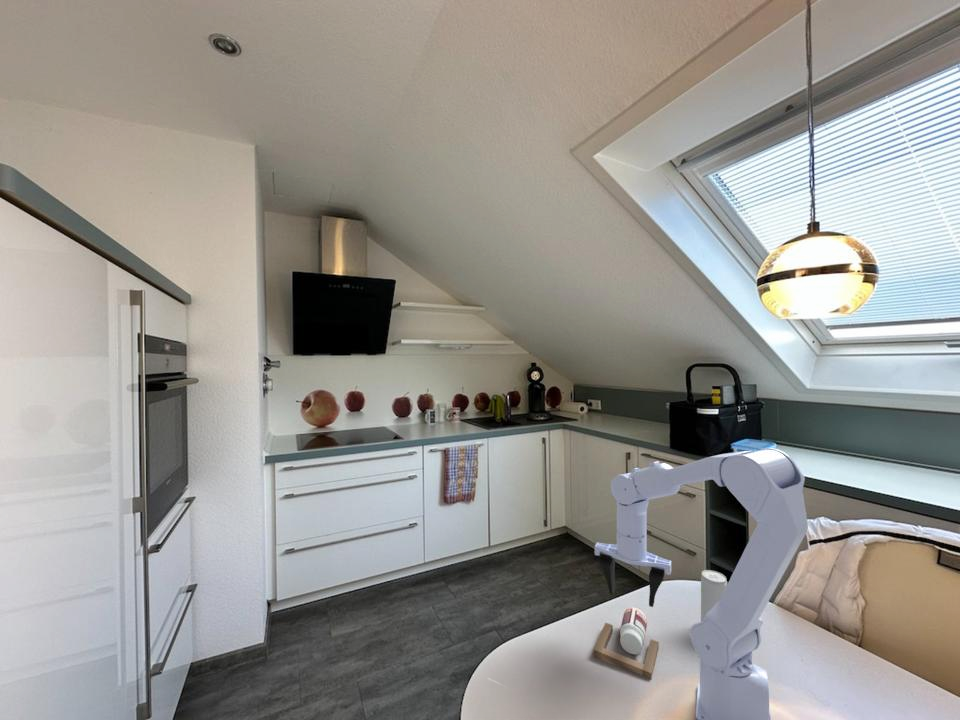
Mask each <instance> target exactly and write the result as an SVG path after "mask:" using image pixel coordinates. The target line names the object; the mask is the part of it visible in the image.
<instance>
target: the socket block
mask: <svg viewBox="0 0 960 720" xmlns="http://www.w3.org/2000/svg"><path fill="white" fill-rule="evenodd" d="M613 627H614V625H612V624H611V623H608V622H605V623H604V625H603V627H602V629H601V632H600V635H599V636H598V638H597V641H596V643H595V645H594V647H593V649H592V652H593V658H595V659H596V660H599V661H603V662H606V663H608V664H610V665H613V666H616V667H618V668H621V669H623V670H627V671H629V672H630V673H631V672H632V673H633V674H635V675H639V676H642V677H645V678H647V679H650V680H652V679H653V675H654V671H655V665H656V662H657V657H658V653H659V646H660V645H659V644H660V643H659V641H657V640H654V639H651V638H650V640H649V644H648V647H647V650H646V651H647V652H646V656H645V659H644V663H643V662H640V661H638V660H635V659H632V658H630V657H627V656H625V655H622V654H620V653H617V652H616V651H612V650H610V649H607V647H608V645H609V642H610V640H611V638H612V635H613V631H614V629H613Z"/></svg>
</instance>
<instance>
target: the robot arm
mask: <svg viewBox="0 0 960 720" xmlns="http://www.w3.org/2000/svg"><path fill="white" fill-rule="evenodd" d="M648 465H649V466H648V467H644V468H641V469H640V468H639V467H637V468H636V467H635V468H632V469H631V472H628V473H623V474H621V473H619V474H617V475H615V476H614V477H613V478H612V479H611V480H610V491H611V492H610V493H611V494H612V497H614V499H615V500H616V544H614V543H613V544H611V543H603V542H599V541H597V542H596V544H595V545H594V556H597V557H598V556H599V558H598V565H599V567H600V569H601V570H602V573H603V575H604V577H605V579H606V585H607V587H608V592H609V594H610V595H614V593H615V590H616V578H615V577H616V576H615V571H616V570H615V569H616V567H615V566H616V560H619V561H621V562H622V563H626V564H628V565H633V566H634V565H635V566H640V567H644V568H649V569H650V570H649V575H648V583H649V595H648V597H649V599H648V606H649V607H650V608H654V605H655V597H656V594H657V591H658V589H659V587H660V585H662V582H663V581H664V578H665V575H668V576H671V574H672V560H669V559H666V558H664V557H661V556H658V555H656V554H653V553H651V552H648V551H647V548H648V547H647V546H648V545H647V541H648V540H647V539H648V538H647V537H648V535H647V531H648V530H647V527H648V525H647V521H648V520H647V519H648V518H647V515H648V511H647V509H648V507H649V501H650V500H654V499H660V498H663V497H669V496H674V495H676V494H677V493H678V492H679V491H680V489H681V486H682V485H688V484H694V483H699V482H704V481H705V482H706V481H711V480H713V481H714V483H716V484H717V486H718V487H721V488H722V487H726V488H727V489H728V491H729V492H730V493H731V494H732V495H733V497H735V498H736V500H737V501H738V502H739V503H740V504H741V506H742V507H743V508H744V509H745V510H746V511H747V512H748V513H749V514H750V516H751V517H752V518H753V519H754V520H755V521H756V525H755V528H754V530H753V532H752V534H751V536H750V538H749V540H748V542H747V544H746V546H745V548H744V550H743V552H742V554H741V556H740V558H739V560H738V562H737V564H736V566H735V569H734V570H733V572H732V574H731V576H730V579H729V581H727V586H726V588H725V590H724V592H723V594H722V596H721V598H720V600H719V602H718V603H717V604H716V605H715V606H714V607H713V608H712V609H711V610H710V611H709V612H708V613H707V614H706V615H705V617H704V619H703V621H702V622H701V621H699V622H696V623H694V624H693V625H692V626H691V628H690V630H689V637H690V641H691V644H692V646H693V649H694V651H695V653H696V654H697V655H698V656H697V657H698V658H699V681H698V682H697V691H696V693H697V694H696V702H695V703H696V705H695V706H696V707H695V719H696V720H771V719H772V718H771V710H770V693H769V690H770V689H769V678H768V671H767V670H765V669H764V668H762V667H760V666H758V665H756V664H755V663H753V652H754V651H755V650H758V648H759V647H760V645H761V642H762V637H761V628H762V625H763V623H764V620H763V619H762V617H761V616H762V614H763V613H764V611H765V609H766V607H767V605H768V603H769V601H770V599H771V598H772V595H773V594H774V592H775V591H776V589H777V587H778V586H779V583H780V582H781V580H782V578H783V576H784V574H785V572H786V570H787V569H788V567H789V565H790V563H791V562H792V561H793V558H794V556H795V554H796V553H797V551H798V549H799V547H800V545H801V544H802V541H803V539H805V538H804V537H805V536H806V534H807V532H808V529H809V523H808V517H807V510H806V504H805V498H804V492H803V488H804V486H805V480H806V478H805V476H804V475H803V473H802V471H801V470H800V468H799V467H798V465H797V463H795V460H793V458H792V456H790V455H788V454H787V453H786V452H784V451H782V450H781V449H777V448H773V447H765V448H762V449H759V450H757V451H753V450H743V451H734V452H728V453H727V452H726V453H722V454H717V455H712V456H708V457H704V458H701V459H697V460H695V461H692V462H689V463H685V464H682V465H679V466H676V467H673V466H671V465H670V464H667V463H666V462H665V463H663V462H662V463H660V461H658V460H657V461H653V462H649V464H648Z"/></svg>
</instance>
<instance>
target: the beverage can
mask: <svg viewBox="0 0 960 720" xmlns="http://www.w3.org/2000/svg"><path fill="white" fill-rule="evenodd" d="M727 584H728V581H727V576H725V575H724V574H723V573H721V572H718V571H716V570H711V569H705V570H702V571H701V575H700V622H702V621H703V619H704V617H705V615H706V614H707V613H708V612H709V611H710V610H711V609H712V608H713V607H714V606H715V605H716V604H717V603H718V602H719V600H720V598H721V596H722V594H723V592H724V590H725V588H726V586H727Z"/></svg>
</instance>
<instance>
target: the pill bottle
mask: <svg viewBox="0 0 960 720" xmlns="http://www.w3.org/2000/svg"><path fill="white" fill-rule="evenodd" d="M647 627H648V620H647V617H646V615H645V614H644V613H643V611H642V610H640V609H638V608H637V607H628V608H627V609H625V610H624V612H623V616H622V621H621V625H620V629H619V636H620V639H619V640H620V641H619V643H620V645H621V647H622V649H623V650H624V651H625V652H627V653H628V654H631V655H639V654H640V653H641V651H642V648H643V646H644V645H645V641H646V636H647V635H646V633H647Z"/></svg>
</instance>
